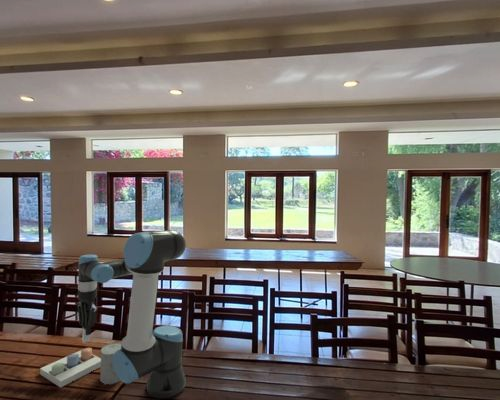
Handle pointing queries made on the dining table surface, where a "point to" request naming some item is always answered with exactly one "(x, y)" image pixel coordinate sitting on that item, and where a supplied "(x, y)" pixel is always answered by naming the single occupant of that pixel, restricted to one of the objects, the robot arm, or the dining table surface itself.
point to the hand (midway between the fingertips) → (86, 341)
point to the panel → (70, 370)
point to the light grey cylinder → (109, 364)
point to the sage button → (57, 369)
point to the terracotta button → (86, 354)
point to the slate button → (72, 360)
